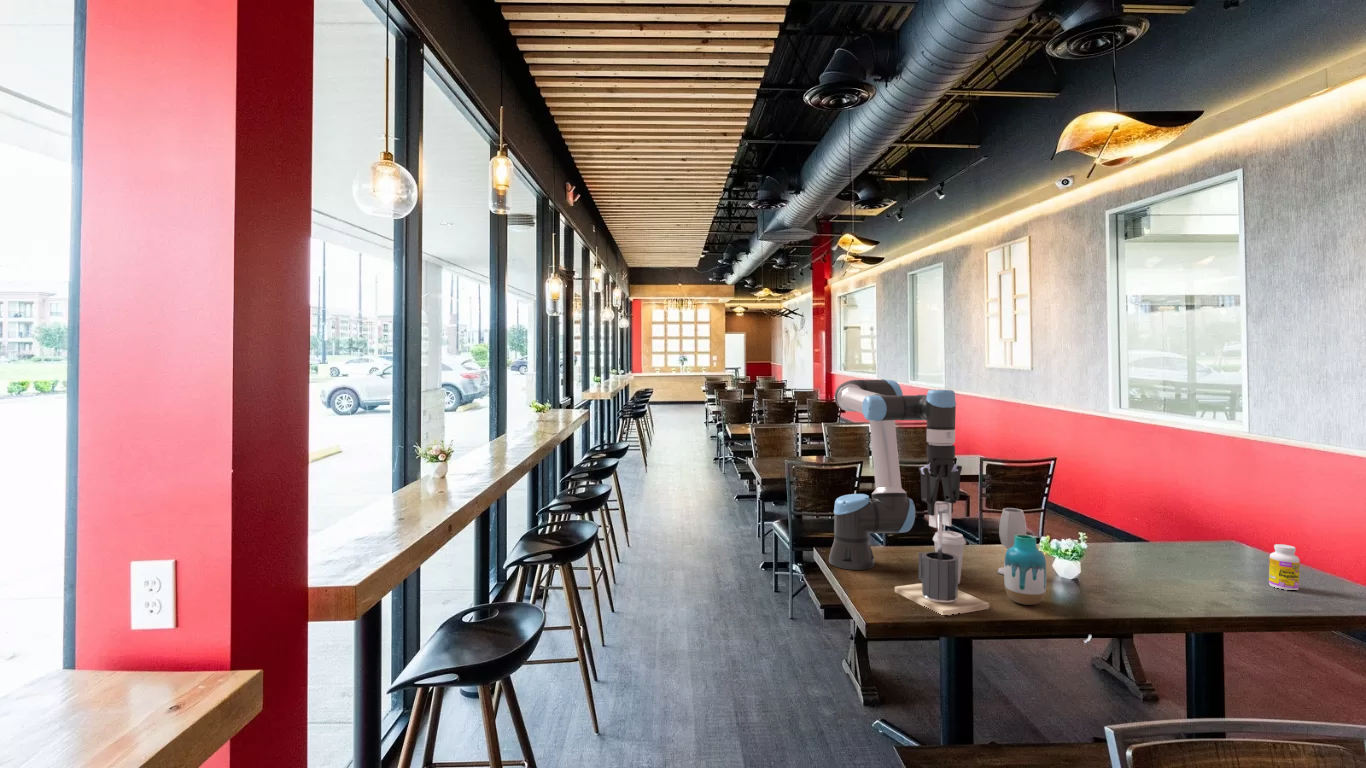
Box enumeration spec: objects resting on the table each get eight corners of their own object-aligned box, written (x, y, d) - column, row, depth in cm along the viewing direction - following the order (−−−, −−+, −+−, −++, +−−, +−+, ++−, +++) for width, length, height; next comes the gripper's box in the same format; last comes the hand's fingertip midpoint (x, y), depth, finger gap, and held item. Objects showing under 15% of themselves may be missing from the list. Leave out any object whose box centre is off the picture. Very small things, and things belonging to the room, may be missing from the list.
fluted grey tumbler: (908, 591, 185) (908, 550, 185) (933, 587, 188) (934, 547, 188) (938, 605, 173) (938, 562, 173) (964, 601, 176) (964, 559, 176)
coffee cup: (968, 587, 192) (969, 538, 192) (935, 585, 194) (935, 537, 194) (961, 577, 202) (961, 531, 201) (929, 575, 203) (930, 529, 203)
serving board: (894, 591, 189) (894, 586, 189) (937, 585, 194) (937, 580, 194) (942, 616, 170) (942, 610, 170) (989, 608, 175) (989, 603, 175)
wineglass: (1021, 580, 199) (1021, 514, 199) (992, 573, 206) (993, 509, 205) (1031, 574, 205) (1032, 510, 204) (1003, 567, 211) (1004, 505, 211)
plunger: (923, 573, 181) (924, 501, 181) (940, 571, 183) (941, 499, 183) (938, 579, 175) (939, 505, 175) (956, 577, 177) (956, 504, 177)
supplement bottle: (1275, 590, 190) (1276, 547, 189) (1264, 583, 196) (1265, 542, 196) (1304, 592, 187) (1305, 550, 187) (1291, 585, 194) (1292, 544, 193)
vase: (1028, 612, 172) (1029, 543, 172) (995, 599, 182) (996, 533, 182) (1054, 606, 177) (1055, 538, 176) (1021, 594, 186) (1021, 530, 186)
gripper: (925, 446, 172) (924, 531, 172) (974, 444, 178) (973, 526, 178) (907, 443, 179) (906, 525, 180) (954, 441, 185) (954, 520, 185)
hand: (940, 525), depth 179 cm, fingers closed on plunger, 4 cm apart
